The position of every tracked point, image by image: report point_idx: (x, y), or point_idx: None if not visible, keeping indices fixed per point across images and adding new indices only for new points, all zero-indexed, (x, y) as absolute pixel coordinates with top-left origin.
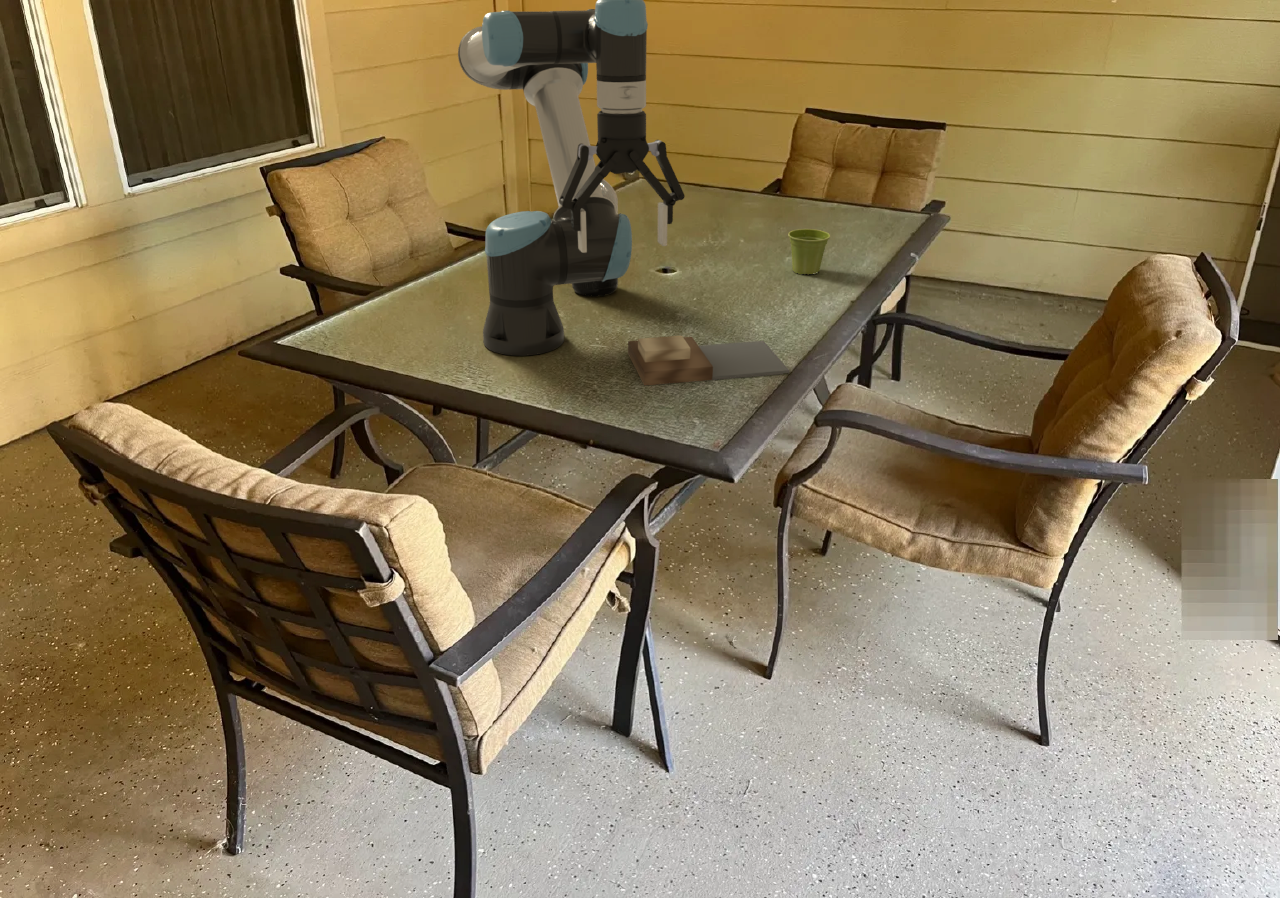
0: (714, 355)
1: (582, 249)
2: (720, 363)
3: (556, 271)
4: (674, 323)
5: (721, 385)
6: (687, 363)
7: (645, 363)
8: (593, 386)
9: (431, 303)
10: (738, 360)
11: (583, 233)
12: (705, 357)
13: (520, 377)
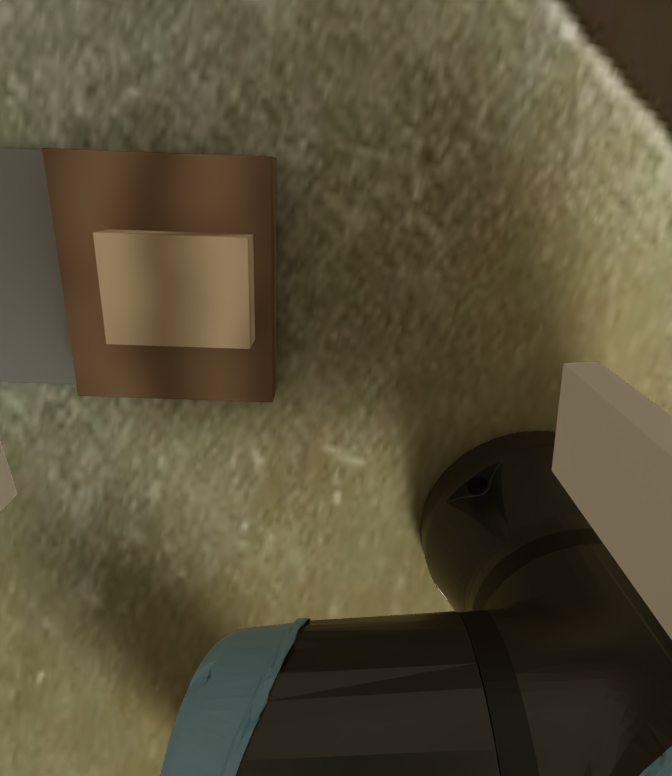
0: (32, 305)
1: (606, 369)
2: (21, 243)
3: (510, 622)
4: (115, 550)
5: (41, 101)
6: (121, 193)
7: (254, 224)
8: (422, 190)
9: None
10: None
11: (662, 424)
12: (57, 227)
13: (601, 301)
